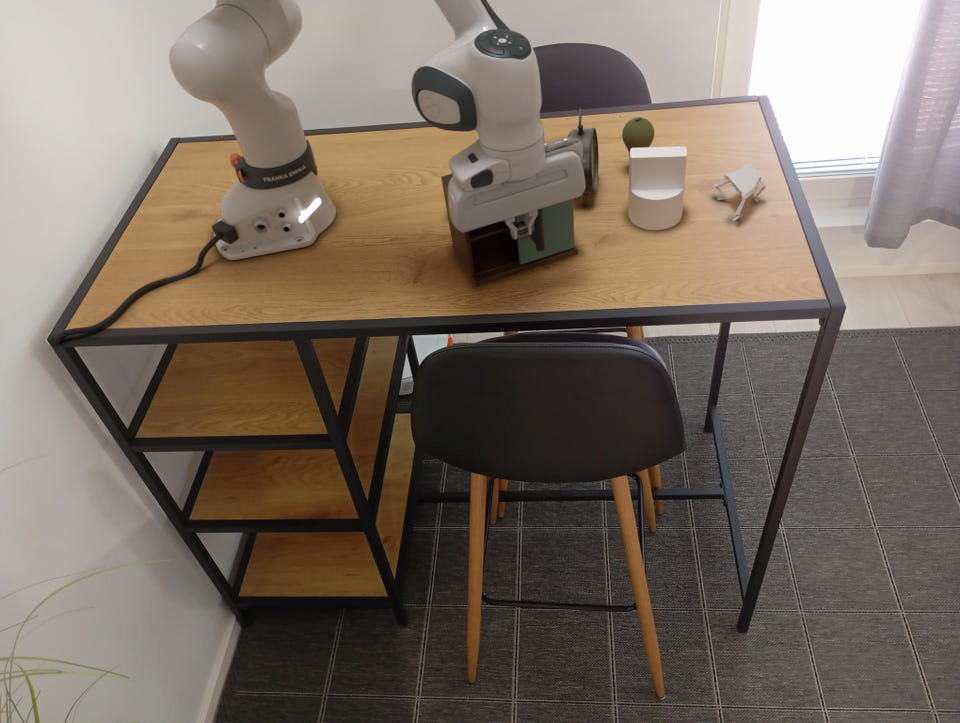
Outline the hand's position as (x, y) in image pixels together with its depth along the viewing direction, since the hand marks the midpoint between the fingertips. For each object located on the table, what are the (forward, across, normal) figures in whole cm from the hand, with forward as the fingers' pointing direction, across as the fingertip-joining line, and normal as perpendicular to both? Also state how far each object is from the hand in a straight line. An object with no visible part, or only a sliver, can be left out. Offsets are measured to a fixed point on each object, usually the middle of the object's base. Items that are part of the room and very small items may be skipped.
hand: (521, 235), depth 119 cm
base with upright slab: (+10, -27, -7) cm, 29 cm away
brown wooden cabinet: (+10, -2, -10) cm, 14 cm away
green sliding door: (+9, -5, -2) cm, 10 cm away
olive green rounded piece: (+10, -31, -21) cm, 38 cm away
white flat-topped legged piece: (+10, -40, -3) cm, 41 cm away
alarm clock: (+10, -19, -19) cm, 28 cm away
